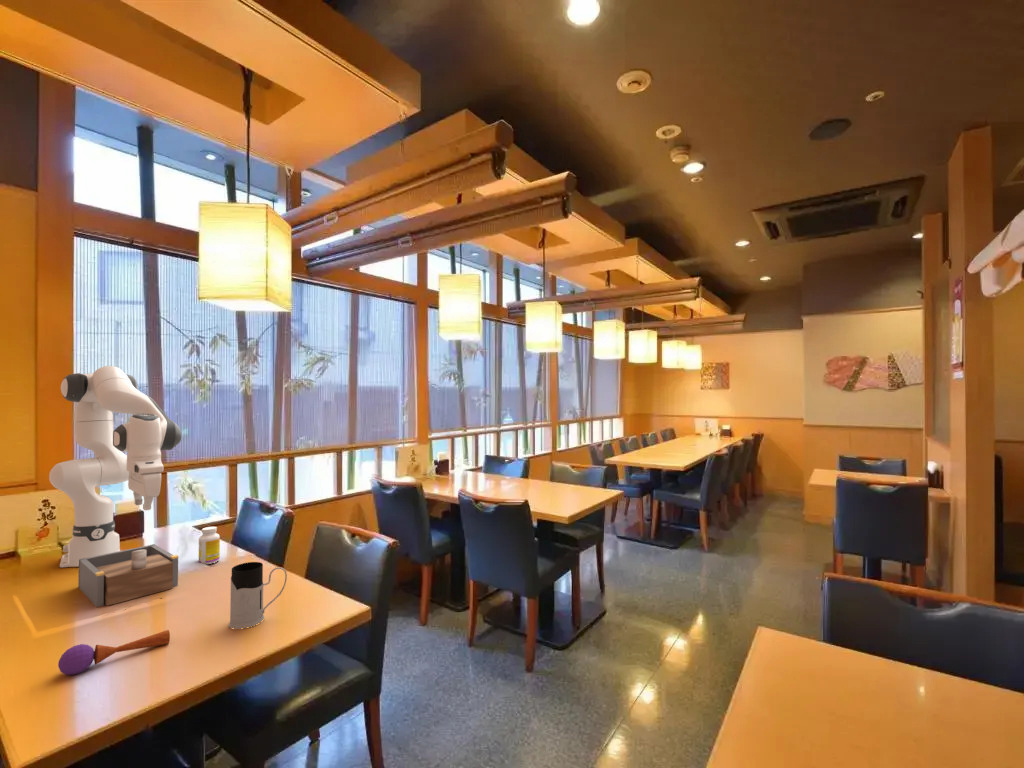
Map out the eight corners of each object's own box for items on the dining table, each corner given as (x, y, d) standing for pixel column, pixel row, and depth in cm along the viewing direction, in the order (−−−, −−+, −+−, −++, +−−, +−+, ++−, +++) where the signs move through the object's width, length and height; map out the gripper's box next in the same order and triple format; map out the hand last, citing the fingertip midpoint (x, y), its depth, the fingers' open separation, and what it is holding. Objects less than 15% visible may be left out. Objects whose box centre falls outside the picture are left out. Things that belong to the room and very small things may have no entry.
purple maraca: (172, 631, 117) (61, 658, 102) (168, 654, 117) (57, 684, 103) (167, 619, 121) (59, 643, 106) (163, 642, 121) (55, 669, 107)
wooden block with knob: (95, 593, 146) (96, 551, 147) (158, 578, 159) (158, 538, 159) (107, 605, 138) (108, 560, 138) (172, 588, 150) (173, 546, 151)
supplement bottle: (223, 560, 181) (224, 525, 181) (210, 566, 174) (211, 530, 175) (207, 559, 182) (207, 525, 182) (193, 565, 175) (194, 530, 175)
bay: (78, 591, 152) (78, 557, 152) (154, 572, 168) (154, 542, 168) (96, 611, 137) (97, 574, 138) (177, 589, 153) (178, 555, 153)
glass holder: (231, 617, 133) (232, 563, 133) (287, 609, 138) (288, 557, 138) (225, 632, 125) (225, 574, 125) (285, 622, 130) (285, 567, 130)
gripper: (123, 461, 158) (121, 503, 158) (141, 469, 145) (139, 514, 145) (146, 459, 163) (145, 500, 163) (165, 467, 150) (164, 510, 150)
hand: (142, 507), depth 154 cm, fingers open, 8 cm apart
